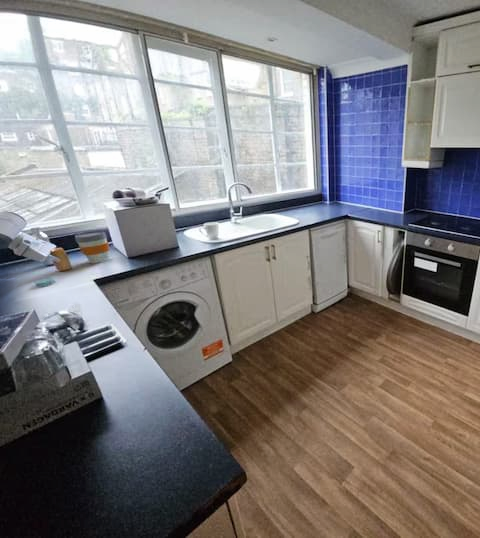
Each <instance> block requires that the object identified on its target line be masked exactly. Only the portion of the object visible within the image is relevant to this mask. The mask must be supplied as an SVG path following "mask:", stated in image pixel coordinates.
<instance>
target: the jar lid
mask: <svg viewBox="0 0 480 538" xmlns="http://www.w3.org/2000/svg"><path fill="white" fill-rule="evenodd" d="M55 283H56V279H55V278H54V277H46V278H41V279H38V280H36V281H35V282H34V286H35V287H36V288H44V287H48V286H52V285H54V284H55Z"/></svg>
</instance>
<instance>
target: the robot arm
mask: <svg viewBox="0 0 480 538" xmlns="http://www.w3.org/2000/svg"><path fill="white" fill-rule="evenodd" d="M26 226H27V221H26V219H25V218H24V217H23V216H22V215H20V214H18V213H15V212H12V211H0V250H2V249H8V248H9V249H10V250H13V253H14V255H17V256H22V257H25V258H27V259H29V260H32V261H36V262H39V263H42V262H43V261H44V260H45V259H48V260H52V261H56V262H60V260H61V258H58V257H54V256H52V255H50V253H51V251H50V250H51V249H54V248H57V245H55V244H54V243H52V242H50V243H49V242H46V241H43V240H40V239H38V240H36V239H37V238H35V237H33V236H32V234H28V233H25V232H23V230H24V229H25V228H26Z"/></svg>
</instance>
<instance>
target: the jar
mask: <svg viewBox="0 0 480 538" xmlns="http://www.w3.org/2000/svg"><path fill="white" fill-rule="evenodd" d="M50 251H51V253H50V255H52V256H54V257H58V258H61V260H60V262H56V261H53V263H54V264H53V266H54V267H55V269H56V271H57V272H61V271H67V270H70V269H72V268H73V264H72V263H71V261H70V258H69V256H68V254H67V252H66V250H64V247H56V248H54V249H51V250H50Z"/></svg>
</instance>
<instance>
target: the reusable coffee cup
mask: <svg viewBox="0 0 480 538" xmlns="http://www.w3.org/2000/svg"><path fill="white" fill-rule="evenodd" d="M74 239H75V241H76V242H75V243H77V244H78V247H79V249H80V251H81V252H82V254H83V255H84V256H85V258H86V259H87V261H88V262H89V264H99V263H104V262H107V261H109V260H111V253H110V244H109V241H108V239H107V235H106V232H105V231H103V230H93V231H86V232H82V233H78V234H76V235H74Z"/></svg>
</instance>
